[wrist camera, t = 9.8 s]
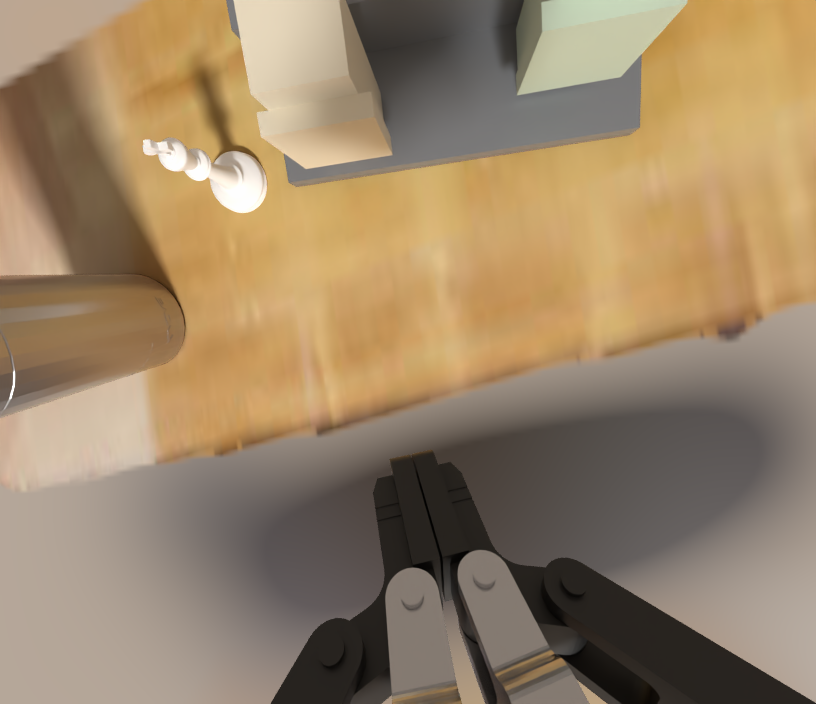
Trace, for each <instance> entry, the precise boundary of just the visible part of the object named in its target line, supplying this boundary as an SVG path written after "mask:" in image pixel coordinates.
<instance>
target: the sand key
mask: <svg viewBox="0 0 816 704" xmlns="http://www.w3.org/2000/svg"><path fill="white" fill-rule="evenodd" d="M233 1H234V6H235V12H236V17H237V22H238V28H239V33H240V39H241V44H242V50H243V55H244V60H245V66H246V71H247V77H248V82H249V88H250V93H251V95H252V96H253V97H254V98H255V99H256V100H258V101H259V102H260V103H261V104H262V105H263V106H264V107H265V108H267V109H268V111H263V112H258V113H257V118H258V123H259V128H260V134H261V137H262V138H263V139H265V140H266V141H267V142H269V143H270V144H272V145H273V146H274V147H276V148H277V149H279V150H280V151H281V152H283V153H284V154H286V155H287V156H288V157H290V158H291V159H293V160H294V161H295V162H297V163H298V164H300V165H301V166H302V167H304V168H305V169H310V168H316V167H322V166H328V165H335V164H341V163H347V162H353V161H359V160H366V159H372V158H378V157H384V156H390V155H393V154H392V145H391V136H390V134H389V132H388V129H387V127H386V124H385V122H384V118H383V110H382V101H381V93H380V90H379V87H378V85H377V82H376V79H375V77H374V74H373V71H372V69H371V66H370V63H369V61H368V58H367V55H366V53H365V50H364V48H363V45H362V42H361V40H360V37H359V34H358V32H357V29H356V26H355V24H354V21H353V18H352V16H351V13H350V10H349V8H348V5H347V2H346V0H233Z"/></svg>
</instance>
